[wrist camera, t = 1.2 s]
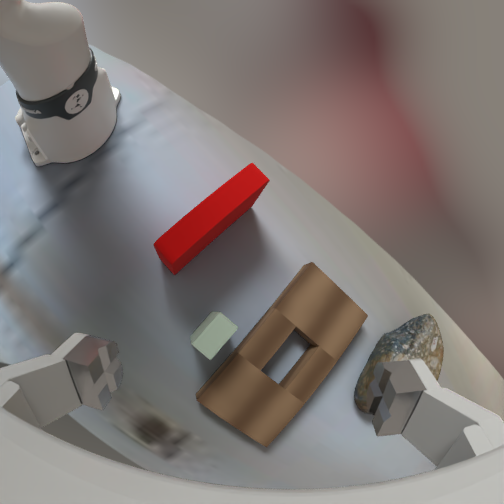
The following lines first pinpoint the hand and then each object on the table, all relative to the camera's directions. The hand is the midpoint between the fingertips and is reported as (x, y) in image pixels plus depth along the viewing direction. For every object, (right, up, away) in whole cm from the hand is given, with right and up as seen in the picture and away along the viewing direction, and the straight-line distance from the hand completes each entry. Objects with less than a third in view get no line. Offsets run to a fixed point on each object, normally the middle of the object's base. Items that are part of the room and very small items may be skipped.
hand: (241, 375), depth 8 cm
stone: (+24, -16, +36) cm, 46 cm away
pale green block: (-6, -7, +30) cm, 31 cm away
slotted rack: (+5, -11, +32) cm, 34 cm away
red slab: (-6, +6, +33) cm, 34 cm away
